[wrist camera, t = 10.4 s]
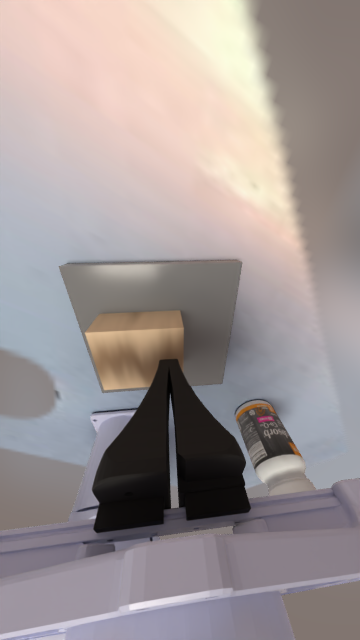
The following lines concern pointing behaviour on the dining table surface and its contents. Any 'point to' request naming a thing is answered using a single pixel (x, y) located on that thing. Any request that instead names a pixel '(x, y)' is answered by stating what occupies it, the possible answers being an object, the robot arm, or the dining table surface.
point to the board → (164, 304)
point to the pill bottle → (272, 449)
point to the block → (134, 346)
